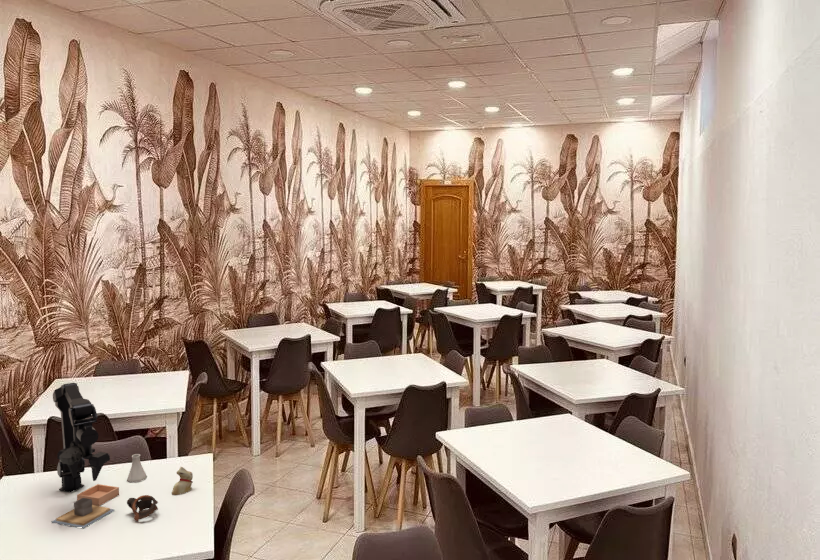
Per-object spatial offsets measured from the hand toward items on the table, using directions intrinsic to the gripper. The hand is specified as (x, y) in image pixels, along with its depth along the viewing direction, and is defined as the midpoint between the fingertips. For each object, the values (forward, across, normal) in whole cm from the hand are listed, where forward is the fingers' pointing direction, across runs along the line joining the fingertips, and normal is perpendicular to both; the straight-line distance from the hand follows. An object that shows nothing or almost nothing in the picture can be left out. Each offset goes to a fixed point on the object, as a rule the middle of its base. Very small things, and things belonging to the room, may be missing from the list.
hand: (84, 478), depth 225 cm
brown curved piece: (+11, +23, +3) cm, 26 cm away
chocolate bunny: (+12, +24, +23) cm, 35 cm away
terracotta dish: (+12, -2, +8) cm, 14 cm away
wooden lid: (+11, +4, -5) cm, 13 cm away
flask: (+12, -1, +27) cm, 30 cm away
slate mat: (+11, +4, -5) cm, 13 cm away
